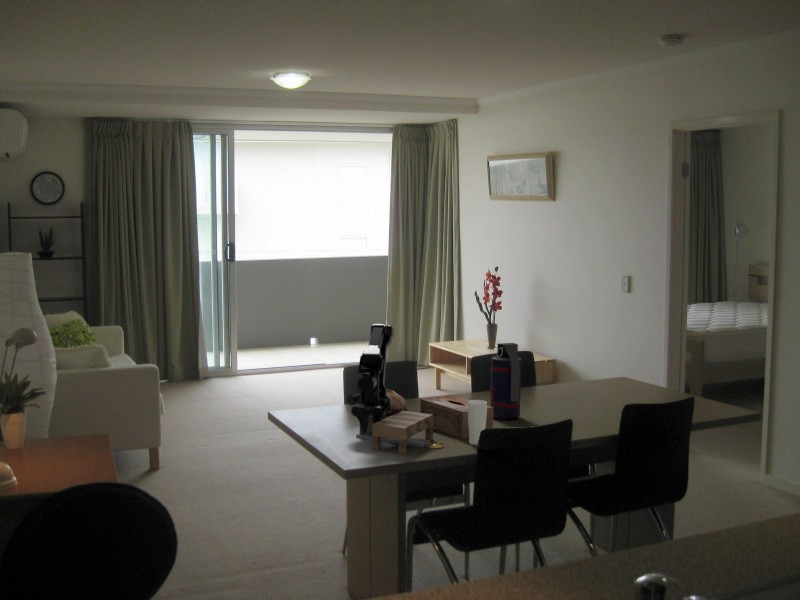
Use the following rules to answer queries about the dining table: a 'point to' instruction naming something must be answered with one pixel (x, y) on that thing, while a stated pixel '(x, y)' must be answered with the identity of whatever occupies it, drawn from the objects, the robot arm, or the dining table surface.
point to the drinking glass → (476, 419)
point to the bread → (396, 403)
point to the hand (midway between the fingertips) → (370, 429)
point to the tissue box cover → (451, 414)
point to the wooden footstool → (402, 428)
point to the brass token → (435, 444)
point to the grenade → (506, 382)
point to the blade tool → (370, 436)
